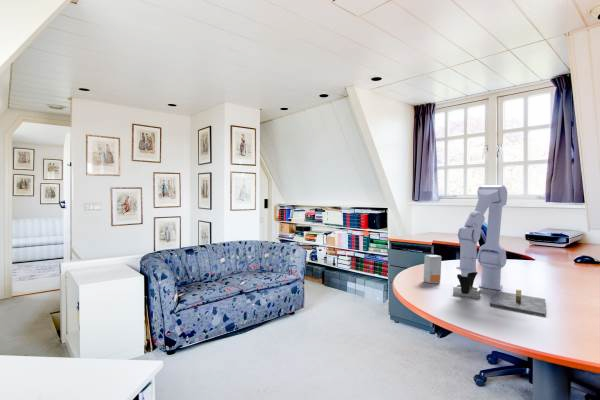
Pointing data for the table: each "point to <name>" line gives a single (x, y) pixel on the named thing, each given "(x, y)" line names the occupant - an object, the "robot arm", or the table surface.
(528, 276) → the table surface
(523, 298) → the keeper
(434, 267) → the skincare box
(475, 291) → the link
